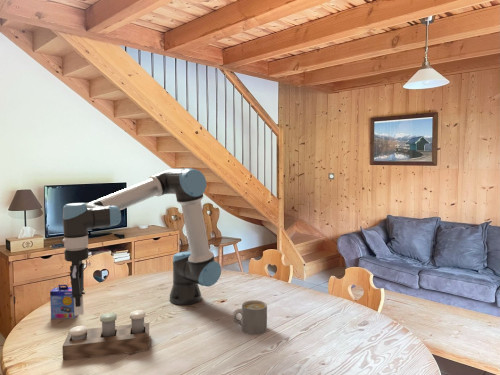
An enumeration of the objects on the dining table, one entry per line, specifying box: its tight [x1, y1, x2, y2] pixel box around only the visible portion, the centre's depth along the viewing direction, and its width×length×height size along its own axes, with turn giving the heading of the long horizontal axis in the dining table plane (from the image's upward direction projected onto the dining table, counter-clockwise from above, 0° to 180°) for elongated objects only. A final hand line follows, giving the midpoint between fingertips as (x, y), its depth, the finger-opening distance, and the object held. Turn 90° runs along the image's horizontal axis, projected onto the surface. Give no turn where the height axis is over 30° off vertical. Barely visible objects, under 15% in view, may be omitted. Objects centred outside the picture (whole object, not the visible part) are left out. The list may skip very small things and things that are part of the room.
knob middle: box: [99, 312, 118, 337], centre depth 136 cm, size 6×6×7 cm
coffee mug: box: [232, 299, 268, 336], centre depth 151 cm, size 13×10×10 cm
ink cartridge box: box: [49, 284, 78, 320], centre depth 162 cm, size 10×6×14 cm, turn 95°
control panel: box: [61, 322, 150, 361], centre depth 136 cm, size 28×12×5 cm, turn 105°
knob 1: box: [69, 325, 88, 341], centre depth 133 cm, size 6×6×7 cm
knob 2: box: [129, 309, 147, 334], centre depth 138 cm, size 6×6×7 cm
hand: (79, 314), depth 133 cm, fingers closed
